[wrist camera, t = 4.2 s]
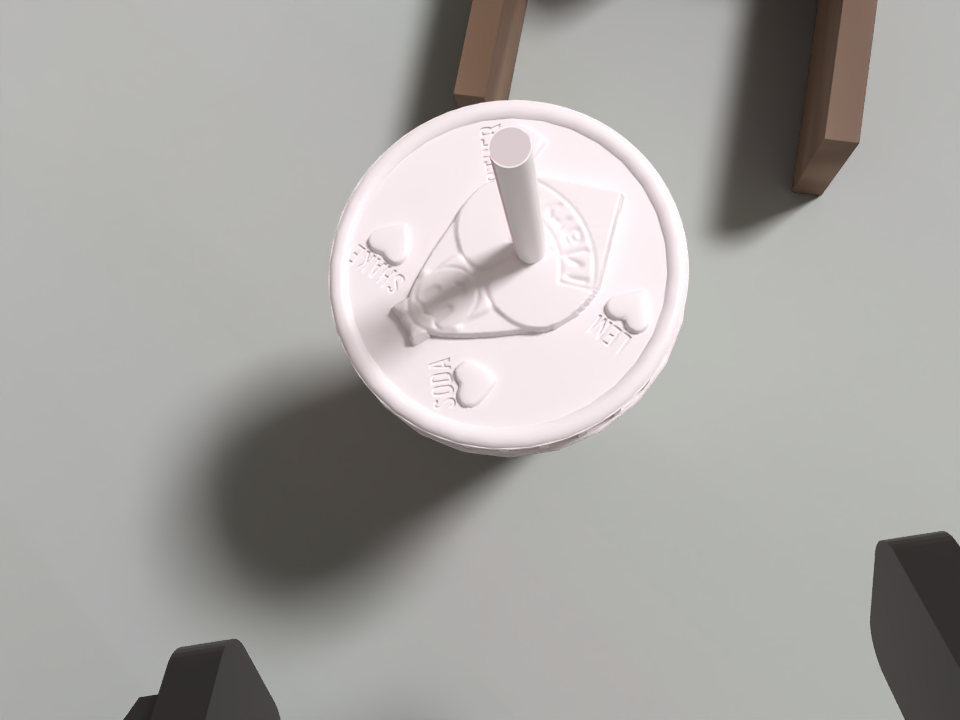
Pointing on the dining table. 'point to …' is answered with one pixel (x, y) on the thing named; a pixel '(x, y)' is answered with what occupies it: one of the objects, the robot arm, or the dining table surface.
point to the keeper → (827, 97)
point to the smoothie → (509, 277)
